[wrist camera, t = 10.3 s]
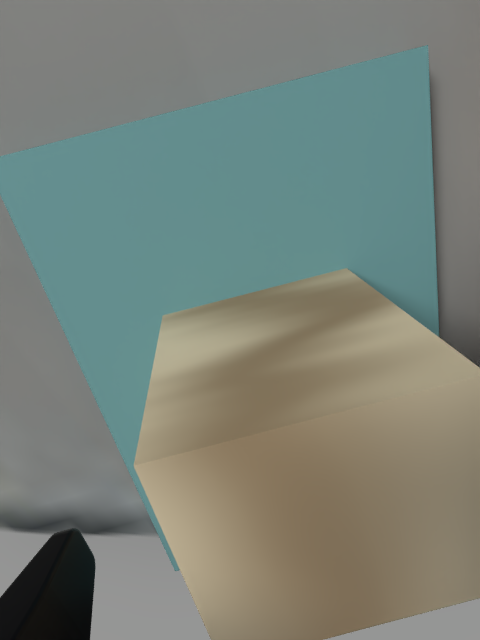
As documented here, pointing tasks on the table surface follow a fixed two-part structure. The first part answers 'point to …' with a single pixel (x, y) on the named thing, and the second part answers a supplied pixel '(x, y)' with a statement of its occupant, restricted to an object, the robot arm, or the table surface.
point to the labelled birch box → (313, 461)
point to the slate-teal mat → (228, 215)
